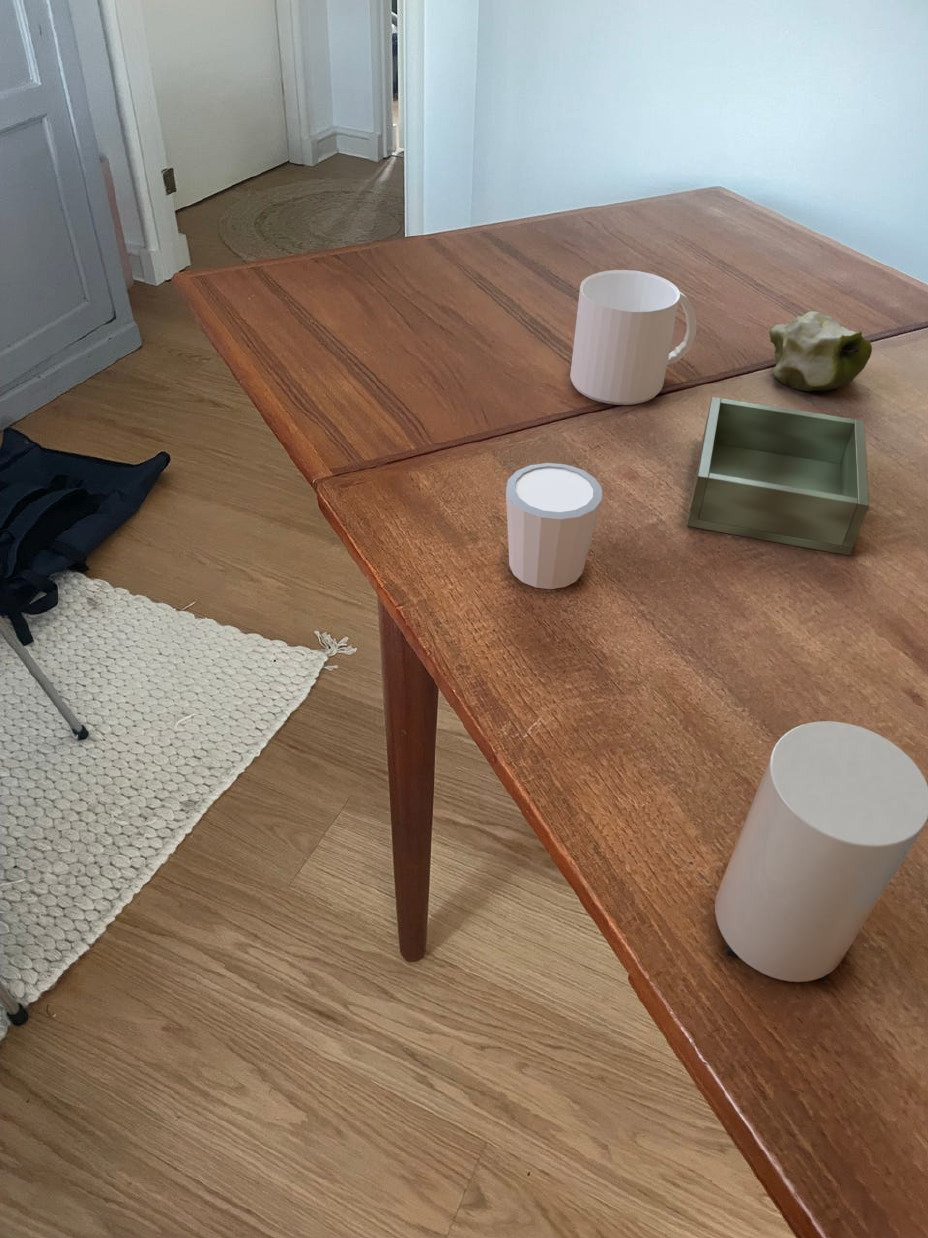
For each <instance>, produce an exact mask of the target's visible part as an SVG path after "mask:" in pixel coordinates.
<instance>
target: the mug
mask: <svg viewBox="0 0 928 1238" xmlns="http://www.w3.org/2000/svg"><path fill="white" fill-rule="evenodd" d="M577 302H578V303H577V311H576V319H575V320H576V322H575V330H574V339H573V347H572V357H571V367H570V374H569V375H570V381H571V383H572V385H573V387H574V388H575V390H577V392H579V393H580V394H581V395H583V396H584V397H586V398H588V399H591V400H593V401H596V402H598V403H603V404H608V405H615V406H631V405H638V404H642V403H645V402H649V401H650V400H652V399H654V398H655V397H656V396H657V395H658V394H659V393H660V392H661V391H662V389H663V388H664V383H665V377H666V372H667V367H668V365H674V364H675V363H676V362H678V361H680V360H681V359H683V358H684V356H686V355H687V353H688V352H690V351H691V349H692V348H693V346H694V341H695V339H696V335H697V319H696V318H697V316H696V313H695V310H694V307H693V305H692V304H691V302H690V300H689V298H688V297H687V295H686V294H684V293H683V292H681V291H680V290H679V288H678V287H677V286H676V285H675V284H674V283H672V282H671V281H670V280H668V279H666V278H664V277H661V276H659V275H657V274H653V273H649V272H646V271H639V270H632V269H612V270H603V271H599V272H596V273H593V274H590V275H588V276H587V277H584V279H583V280H582V281H581V283H580V286H579V293H578V301H577ZM679 303H680V305H681V307H682V309H683V311H684V315H685V322H686V323H685V324H686V332H685V333H684V338H683V341H682V342H680V344H679V345H678V346H675V349H673V350H671V346H672V342H673V341H672V340H673V335H674V330H675V324H676V319H677V314H678V308H679ZM670 350H671V351H670Z"/></svg>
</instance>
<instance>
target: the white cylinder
mask: <svg viewBox="0 0 928 1238" xmlns="http://www.w3.org/2000/svg"><path fill="white" fill-rule="evenodd" d="M927 823H928V782H927V780H926V778H925V776H924V774H923V772H922V771H921V769H920V768H919V767H918V765H917V764H916V762H914V760H913V759H912V758H911V757H910V756H909V755H908V753H906V752H905V751H904V750H903V749H901V748H900V747H899V746H898V745H896V744H895V743H894V742H892V741H890V740H889V739H887V738H886V737H884V736H883V735H881V734H879V733H876V732H874V731H872V730H870V729H867V728H865V727H862V726H859V725H856V724H851V723H847V722H842V721H833V720H832V721H831V720H821V721H819V720H818V721H813V722H807V723H803V724H800V725H798V726H795V727H793V728H791V729H790V730H788V731H787V732H785V733H784V734H782V736H781V737H780V738H779V739H778V740H777V741H776V743H775V744H774V746H773V749H772V750H771V753H770V756H769V758H768V760H767V763H766V766H765V769H764V771H763V773H762V775H761V779H760V781H759V783H758V786H757V789H756V792H755V793H754V796H753V799H752V801H751V804H750V807H749V809H748V812H747V814H746V817H745V820H744V822H743V825H742V827H741V830H740V833H739V835H738V838H737V840H736V843H735V845H734V848H733V851H732V853H731V856H730V858H729V861H728V863H727V866H726V868H725V871H724V873H723V875H722V879H721V881H720V884H719V886H718V888H717V892H716V895H715V901H714V912H715V913H714V914H715V919H716V923H717V927H718V929H719V931H720V933H721V935H722V937H723V939H724V941H725V942H726V945H727V944H728V945H729V946H730V948H731V949H732V950H733V951H734V952H735V953H736V954H737V956H738V957H739V958H738V957H737V958H738V959H740V960H742V962H745V964H747V965H748V966H749V967H751V968H752V969H754V970H756V971H757V972H759V973H761V974H763V975H765V976H768V977H770V978H772V979H776V980H780V981H784V982H795V983H800V982H802V983H803V982H810V981H815V980H819V979H818V978H821V977H823V976H825V975H827V974H829V975H830V973H832V972H833V971H834V970H836V969H837V967H838V966H839V965H840V964H841V963H842V961H843V959H844V958H845V956H846V954H848V953H847V952H848V951H849V950H850V948H851V946H852V945H853V943H854V941H855V940H856V938H857V937H858V935H859V934H860V931H861V930H862V928H864V926H865V924H866V922H867V921H868V918H869V917H870V916H871V914H872V912H873V911H874V909H875V908H876V906H877V904H878V903H879V901H880V900H881V898H882V896H883V895H884V893H885V891H886V890H887V888H888V886H889V885H890V884H891V881H892V880H893V879H894V877H895V875H896V873H897V872H898V870H899V869H900V867H901V866H902V864H903V862H904V860H905V859H906V858H907V856H908V854H909V852H910V851H911V849H912V848H913V846H914V844H915V843H916V841H917V839H918V838H919V836H920V835H921V833H922V831H923V830H924V828H925V827H926V825H927Z"/></svg>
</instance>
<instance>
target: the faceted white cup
mask: <svg viewBox="0 0 928 1238" xmlns="http://www.w3.org/2000/svg"><path fill="white" fill-rule="evenodd" d="M602 500H603V488H602V486H601V485H600V483H599V482H598V480H597V478H595V476H593V475H592V474H589V473H588V472H587V471H585V470H583V469H582V468H578V467H575V466H572V465H569V464H565V463H564V464H563V463H554V462H544V463H535V464H530V465H527V466H525V467H522V468H521V469H518V470H516V471H514V473H513V474H512V475H511V476H510V477H509V478H508V479H507V482H506V488H505V503H506V504H505V505H506V520H507V521H506V522H507V546H508V565H509V569H510V571H511V572H512V574H513V576H514V577H515V578H517V579H518V580H519V581H521V582H522V583H523V584H526V585H528V586H531V587H533V588H536V589H545V590H555V589H560V588H561V589H562V588H566V587H569V586H570V585H572V584H574V583H576V582H577V581H578V580H579V579H580V577H581V576H582V574H583V573H584V570H585V565H586V562H587V558H588V554H589V550H590V547H591V543H592V539H593V535H594V531H595V527H596V523H597V520H598V516H599V511H600V508H601V504H602Z"/></svg>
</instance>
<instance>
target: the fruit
mask: <svg viewBox="0 0 928 1238" xmlns="http://www.w3.org/2000/svg"><path fill="white" fill-rule="evenodd" d="M862 335H863V331H861V330H859V331H854V330H850V329H848V328H847V327H845V326H842V325H841V324H840V322H838V321H836V320H835V318H834V316H831V315H825V314H823V313H821V312H819V311H813V310H811V311H808V312H807V313H805V314H803V315H798V316H796V317H795V318H794V319H792V320H791V322H789V323H787V324H784V323H778V324H776V325H774V326H771V327H770V329H769V341H770V343H772V344H773V346H774V359H775V363H776V365H775V366H774V368H773V370H772V371H771V375H772V376H773V377H774V378H775V379H777V380H778V381H779V382H781V383H782V384H783V385H785V386H787V387H790V388H792V389H795V390H798V391H803V392H821V391H822V392H823V391H831V390H835V389H839V388H842V387H844V386H845V385H847V384H849V383H850V382H852V381H853V380H854V379H855V378H856V377H857V376H859V375H860V373H861V372H862V371H863V370H864V369H865V368H866V365H867V364H868V361H869V360H870V358H871V356H872V353H873V345H872V342H871V341H870V340H868V339H866V338H864V337H863V336H862Z"/></svg>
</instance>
